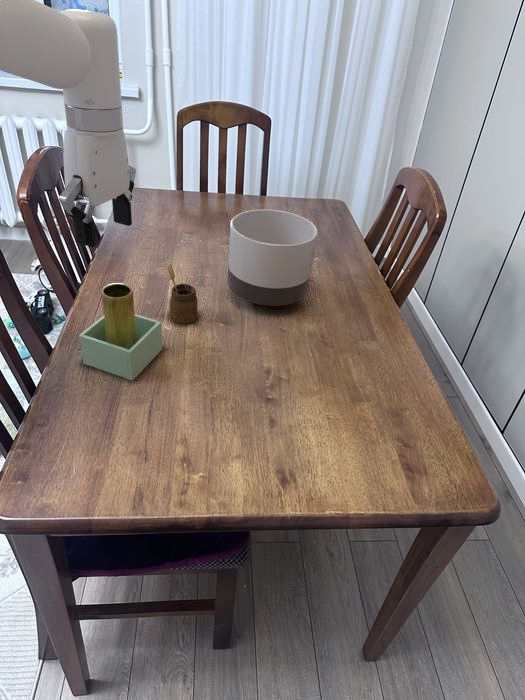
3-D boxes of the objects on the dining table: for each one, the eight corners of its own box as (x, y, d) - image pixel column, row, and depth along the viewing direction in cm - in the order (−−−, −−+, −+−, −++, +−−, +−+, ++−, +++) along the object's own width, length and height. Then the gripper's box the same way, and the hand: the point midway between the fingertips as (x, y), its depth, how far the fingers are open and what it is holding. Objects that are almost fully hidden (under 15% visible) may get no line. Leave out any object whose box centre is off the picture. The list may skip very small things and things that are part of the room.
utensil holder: (190, 327, 104) (190, 278, 97) (163, 320, 105) (162, 270, 98) (201, 313, 109) (202, 265, 101) (176, 306, 110) (175, 258, 103)
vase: (136, 365, 92) (130, 300, 83) (103, 362, 91) (94, 297, 83) (142, 345, 96) (138, 283, 88) (111, 343, 96) (104, 280, 88)
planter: (321, 307, 115) (335, 238, 105) (250, 324, 107) (257, 251, 96) (280, 270, 128) (288, 205, 118) (213, 282, 120) (216, 213, 109)
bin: (83, 363, 92) (78, 335, 88) (116, 334, 100) (113, 307, 96) (132, 380, 89) (130, 352, 85) (162, 349, 97) (161, 322, 93)
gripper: (108, 105, 75) (116, 211, 85) (27, 124, 62) (48, 247, 72) (151, 113, 74) (154, 221, 84) (77, 135, 60) (91, 260, 70)
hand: (105, 233), depth 78 cm, fingers open, 9 cm apart
